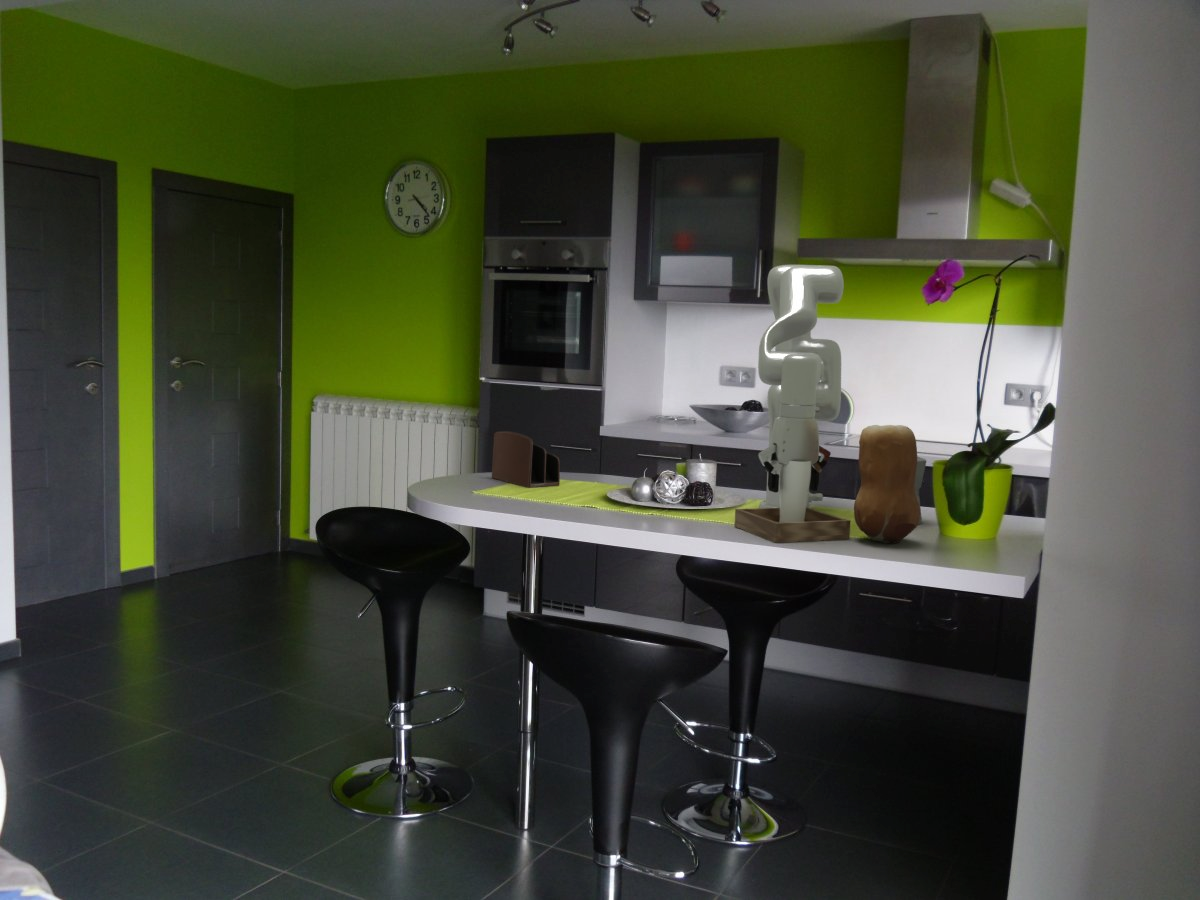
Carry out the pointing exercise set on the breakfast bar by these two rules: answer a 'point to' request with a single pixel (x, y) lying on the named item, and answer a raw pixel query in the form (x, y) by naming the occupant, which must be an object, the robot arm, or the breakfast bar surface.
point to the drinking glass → (794, 490)
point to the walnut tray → (792, 525)
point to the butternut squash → (887, 483)
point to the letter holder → (523, 462)
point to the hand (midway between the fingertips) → (792, 490)
